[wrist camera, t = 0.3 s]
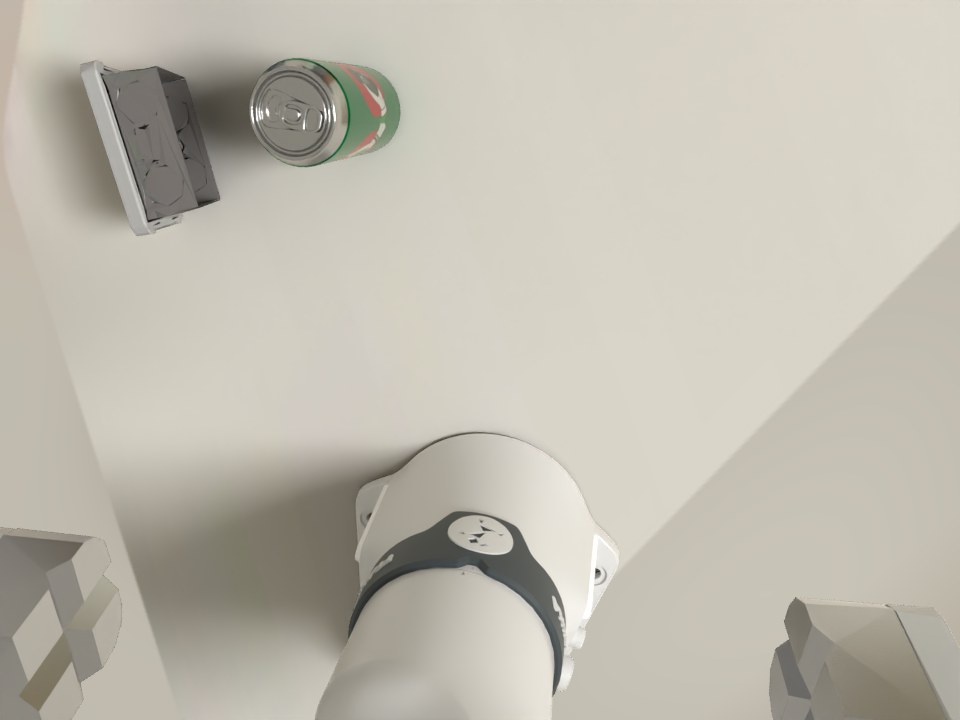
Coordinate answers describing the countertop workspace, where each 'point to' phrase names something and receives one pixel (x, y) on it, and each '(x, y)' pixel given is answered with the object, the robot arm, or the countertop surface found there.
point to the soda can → (322, 111)
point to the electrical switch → (150, 143)
